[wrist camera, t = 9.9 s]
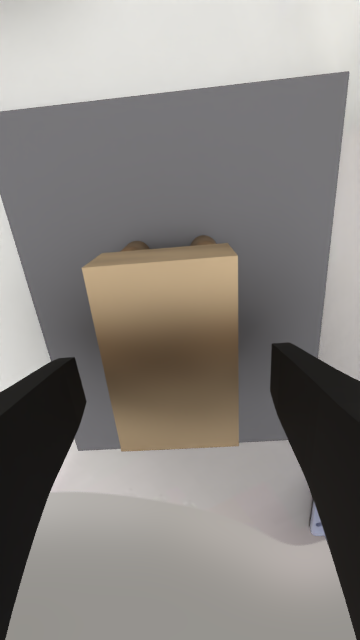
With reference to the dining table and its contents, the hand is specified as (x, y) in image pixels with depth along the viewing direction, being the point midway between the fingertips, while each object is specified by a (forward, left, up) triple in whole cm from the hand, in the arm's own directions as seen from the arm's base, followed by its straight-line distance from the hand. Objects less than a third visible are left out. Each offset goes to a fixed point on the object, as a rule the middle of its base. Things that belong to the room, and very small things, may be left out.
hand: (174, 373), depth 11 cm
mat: (0, 0, -7) cm, 7 cm away
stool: (0, 0, -6) cm, 6 cm away
